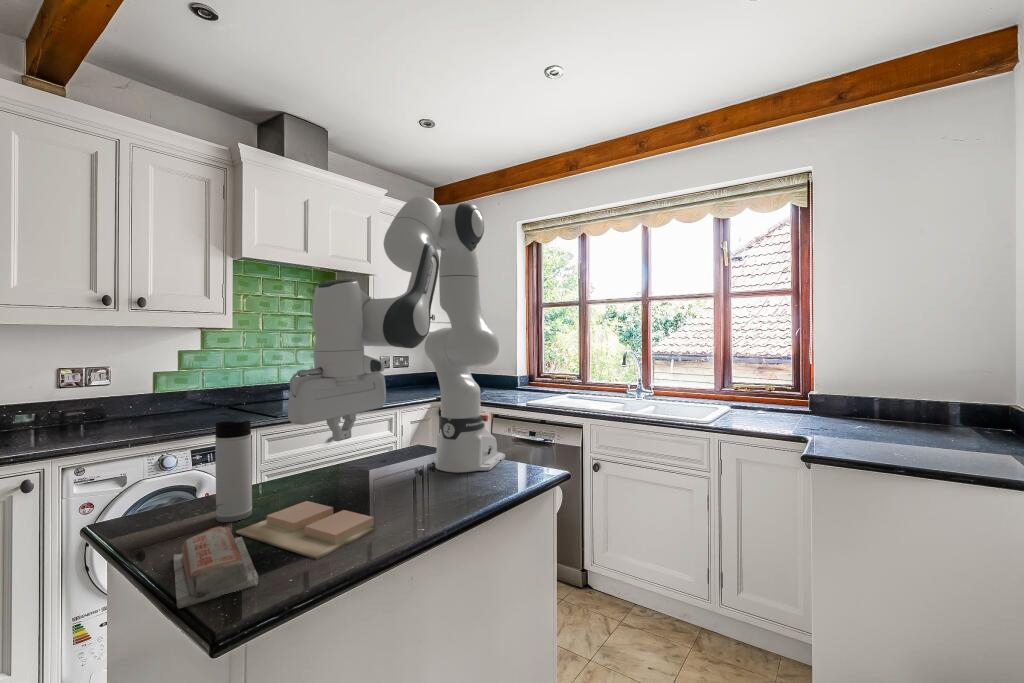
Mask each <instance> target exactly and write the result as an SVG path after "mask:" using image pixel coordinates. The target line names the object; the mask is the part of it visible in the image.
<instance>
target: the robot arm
mask: <svg viewBox="0 0 1024 683" xmlns="http://www.w3.org/2000/svg"><path fill="white" fill-rule="evenodd" d="M484 231H485V222H484V217H483V214H482V212H481V210H480V209H479V207H477V206H476V205H475V204H471V203H465V202H464V203H462V202H461V203H459V204H445V205H444V204H442V205H439V204H437V202H436V201H435V200H433V199H432V198H429V197H426V196H424V195H423V196H422V195H421V196H420V195H419V196H414V197H411V198H410V199H408V201H407V202H406V203H404V205H403V206H402V207H401V208H400V209H399V211H398V212H397V214H396V215H395V216H394V218H393V220H392V222H391V223H390V225H389V227H388V228H387V230H386V232H385V235H384V238H383V249H384V252H385V254H386V256H387V258H388V260H389V261H390V262H391V263H392V264H394V266H396V268H399V269H400V270H401V271H404V272H407V273H411V274H410V277H409V278H410V279H409V282H408V286H407V289H406V291H405V292H404V293H402V294H400V295H398V296H395V297H388V298H387V297H385V298H373V297H372V296H369V295H368V294H366V293H365V292H364V291H363V290H362V289H361V288H360V285H359V284H360V283H359V281H358V280H356V279H352V278H344V279H343V278H342V279H341V278H340V279H334V280H333V279H331V280H326V281H325V280H324V281H322V282H320V283H319V284H317V285H316V287H315V289H314V293H313V300H312V329H313V331H314V334H315V335H314V336H315V341H314V346H313V368H310V369H299V370H297V371H296V373H294V374H293V375H292V376H291V378H290V379H289V396H288V404H287V405H288V408H287V418H288V420H289V421H290V422H291V423H292V424H294V425H301V426H306V425H310V424H315V423H319V422H323V421H324V422H325V421H326V424H327V427H328V428H329V429H330V431H331V433H332V441H334V442H341V441H344V440H349V439H351V438H352V429H353V427H354V425H355V422H356V420H357V414H359V413H363V412H364V413H365V412H368V411H372V410H375V409H376V410H377V409H381V408H383V407H384V405H385V404H386V402H387V388H386V379H385V375H384V374H383V372H384V371H385V362H384V360H380V359H377V358H374V357H371V356H369V355H367V354H366V355H365V347H394V348H402V349H414V348H416V347H418V346H419V345H421V343H422V342H423V341H424V340H425V342H424V352H425V355H426V357H427V358H428V359H429V360H430V362H431V363H432V365H433V367H434V370H435V372H436V376H437V380H438V383H439V389H440V390H439V391H440V414H441V415H440V416H439V421H438V424H439V430H440V432H439V433H438V434H437V439H436V449H435V450H436V451H435V453H436V454H435V457H434V458H433V461H432V462H433V463H434V464H435V466H434V467H435V469H437V470H440V471H442V472H446V473H447V472H448V473H470V472H478V471H481V472H482V471H491V469H493V468H494V467H495V466H496V465H498V464H499V463H501V461H503V460H504V459H505V458H506V454H505V453H502V452H500V451H498V443H497V439H496V437H495V436H494V435H493V434H492V433H490V432H489V431H488V430H487V428H485V423H486V422H488V421H489V415H488V414H484V413H482V414H481V387H480V385H479V384H478V383H477V382H476V381H475V379H474V378H473V375H472V373H471V370H470V368H479V367H484V366H487V365H491V364H492V363H493V362H494V361H495V360H496V359H497V357H498V355H499V351H500V343H499V340H498V339H499V338H498V337H497V336H496V334H495V333H494V332H493V331H492V329H490V327H489V326H488V324H487V322H486V320H485V318H484V314H483V311H482V307H481V302H480V301H481V300H480V299H481V298H480V275H479V263H478V256H477V255H478V254H477V251H476V248H477V245H478V244H479V243H480V241H481V239H482V238H483V236H484V233H485V232H484ZM438 250H440V255H439V254H438V253H439V252H438ZM438 274H439V275H438ZM438 277H439V279H438ZM437 280H438V282H439V283H438V285H439V288H438V289H439V305H440V308H441V309H442V310H443V311H444V312H445V313H446V314H447V316H448V318H449V322H450V323H449V324H450V326H451V327H443V328H439V329H437V330H435V331H434V330H433V331H432V332H431V333H429V331H430V328H431V327H430V326H431V309H432V304H433V300H434V295H435V290H436V286H437ZM341 418H342V420H344V421H343V424H342V427H340V423H341V422H342V421H341ZM484 422H485V423H484ZM495 459H497V460H495ZM499 460H501V461H499Z"/></svg>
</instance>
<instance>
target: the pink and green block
mask: <svg viewBox="0 0 1024 683" xmlns="http://www.w3.org/2000/svg"><path fill="white" fill-rule="evenodd" d="M374 523H375V522H374V516H370V515H368V514H367V515H366V514H361V513H357V512H354V511H351V510H350V511H349V510H347V509H346V510H345V509H342V510H340V511H338V512H335V513H333V515H331V516H328V517H326V518H323V519H321V520H319V521H316V522H314V523H312V524H309V525H307V526H305V535H306V536H310V537H313V538H316V539H320V540H323V541H327V542H330V543H333V544H337V543H339V542H341V541H343V540H345V539H347V538H349V537H351V536H353V535H355V534H357V533H359V532H361V531H363V530H365V529H368V528H370V527H374V525H375V524H374Z"/></svg>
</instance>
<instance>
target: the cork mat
mask: <svg viewBox="0 0 1024 683" xmlns="http://www.w3.org/2000/svg"><path fill="white" fill-rule="evenodd" d="M375 529H376V528H375V527H374V526H372V527H370V528H368V529H365V530H363V531H361V532H359V533H357V534H355V535H353V536H351V537H349V538H347V539H345V540H343V541H341V542H339V543H337V544H333V543H330V542H327V541H323V540H320V539H316V538H313V537H310V536H306V535H305V527H304V528H302V529H300V530H297V531H295V532H293V531H289V530H286V529H283V528H279V527H276V526H272V525H269V524H267V519H264V520H261V521H259V522H256V523H253V524H251V525H248V526H245V527H243V528H240V529H238V530H236V531H235V534H237V535H241V536H242V537H243V536H244V537H247V538H250V539H253V540H255V541H259V542H262V543H265V544H267V545H271V546H274V547H277V548H280V549H283V550H286V551H290V552H292V553H295V554H298V555H299V554H300V555H302V556H305V557H308V558H310V559H314V558H315V559H314V560H318V559H320V558H323V557H324V556H326V555H328V554H331V553H332V552H335V551H337V550H338V549H340V548H342V547H344V546H346V545H349V544H350V543H352V542H354V541H356V540H357V539H359V538H362V537H363V536H366V535H368V534H370V533H371V532H374V531H375Z"/></svg>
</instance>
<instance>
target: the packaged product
mask: <svg viewBox="0 0 1024 683" xmlns="http://www.w3.org/2000/svg"><path fill="white" fill-rule="evenodd" d="M246 546H247V545H246V544H245V542H244V538H243V536H240V537H234V535H233V534H232V530H231V528H230V527H229V526H226V527H224V526H216V527H212V528H210V529H207V530H205V531H203V532H201V533H198V534H196V535H193V536H192V537H189V538H188V539H186V540H184V542H183V544H182V546H181V551H182V552H181V553H180V554H173V570H174V582H175V583H174V584H175V597H176V607H177V608H178V609H182V608H186V607H190V606H193V605H196V604H201V603H202V602H203V603H204V602H206V601H210V600H213V599H217V597H218V598H220V597H219V596H221V595H224V594H228V593H231V592H235V593H237V592H236V591H238V592H240V591H239V590H241V591H243V590H242V589H245V588H248V587H251V586H255V585H257V584H258V585H259V577H260V576H259V575H258V572H257V570H256V568H255V566H254V563H253V560H252V558H251V556H250V553H249V551H248V549H247V547H246ZM258 585H257V586H258ZM255 587H256V586H255ZM251 588H252V587H251ZM248 589H249V588H248ZM245 590H246V589H245ZM231 594H232V593H231ZM228 595H229V594H228ZM224 596H225V595H224ZM221 597H222V596H221Z"/></svg>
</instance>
